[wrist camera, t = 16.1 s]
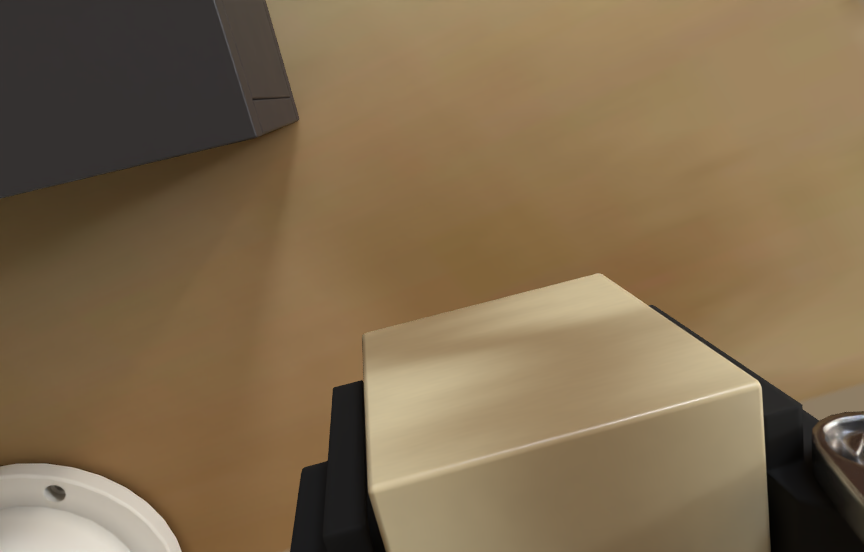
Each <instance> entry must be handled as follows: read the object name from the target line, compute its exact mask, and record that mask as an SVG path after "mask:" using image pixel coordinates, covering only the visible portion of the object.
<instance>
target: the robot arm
mask: <svg viewBox="0 0 864 552" xmlns="http://www.w3.org/2000/svg"><path fill="white" fill-rule="evenodd" d="M649 307H651V308H652V309H654V310H655V311H657V312H658V313H660V314H661V315H662V316H664V317H665V318H667V319H668V320H670V321H671V322H673V323H674V324H676V325H677V326H679V327H680V328H682V329H683V330H685V331H686V332H687V333H689V334H690V335H692V336H693V337H695V338H696V339H698V340H699V341H701V342H702V343H704V344H705V345H707V346H708V347H709V348H711V349H712V350H714V351H715V352H717V353H718V354H720V355H721V356H723V357H724V358H726V359H727V360H729V361H730V362H731V363H733V364H734V365H736V366H737V367H739V368H740V369H742V370H743V371H745V372H746V373H748V374H749V375H751V376H752V377H753V378H755V379H756V380H758V381H759V383H760V385H761V387H762V400H763V418H764V436H765V454H766V473H767V491H768V509H769V527H770V545H771V552H864V411H862V412H844V413H840V414H835V415H830V416H828V417H826V418H824V419H822V420H820V421H819V420H817V419H816V418H814V417H813V416H811V415H810V414H809V413H807V412H806V411H804V410H803V409H802V404H800V403H799V402H797V401H796V400H794V399H793V398H791V397H790V396H788V395H787V394H785V393H784V392H782V391H781V390H779V389H778V388H776V387H775V386H773V385H772V384H770V383H769V382H767V381H766V380H764V379H763V378H761V377H760V376H758V375H757V374H755V373H754V372H752V371H751V370H749V369H748V368H746V367H745V366H743V365H742V364H741V363H739V362H738V361H736V360H735V359H733V358H732V357H730V356H729V355H727V354H726V353H724V352H723V351H721V350H720V349H718V348H717V347H715V346H714V345H712V344H711V343H709V342H708V341H706V340H705V339H703V338H702V337H700V336H699V335H697V334H696V333H694V332H693V331H691V330H690V329H688V328H687V327H685V326H684V325H682V324H681V323H679V322H678V321H676V320H675V319H673V318H672V317H670V316H669V315H667V314H666V313H664V312H663V311H661V310H660V309H658V308H657V307H655V306H653V305H649ZM0 552H182V551H181V549H180V546H179V544H178V541H177V538H176V537H175V535H174V534H173V532H172V531H171V529H170V528H169V526H168V525H167V523H166V522H165V520H164V519H163V518H162V517H161V516H160V515H159V514H158V513H157V512H156V511H155V510H154V509H153V508H152V507H151V506H150V505H149V504H148V503H147V502H146V501H144V500H143V499H142V498H140V497H139V496H137V495H136V494H134V493H133V492H132V491H130V490H129V489H127V488H126V487H124V486H122V485H120V484H118V483H115V482H113V481H111V480H109V479H107V478H105V477H103V476H101V475H97V474H94V473H91V472H87V471H84V470H81V469H77V468H74V467H67V466H60V465H53V464H46V463H38V464H12V465H6V466H0ZM290 552H386V550H385V547H384V544H383V540H382V537H381V534H380V531H379V527H378V524H377V521H376V517H375V514H374V511H373V507H372V504H371V501H370V498H369V494H368V487H367V460H366V433H365V406H364V383H363V381H362V380H361V381H357V382H353V383H350V384H346V385H342V386H338V387H334V388H333V396H332V410H331V424H330V438H329V452H328V461H327V462H323V463H319V464H315V465H312V466H308V467H305V468H303V469H302V473H301V479H300V486H299V493H298V500H297V507H296V514H295V521H294V528H293V535H292V543H291V550H290Z"/></svg>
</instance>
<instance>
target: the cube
mask: <svg viewBox="0 0 864 552" xmlns="http://www.w3.org/2000/svg"><path fill="white" fill-rule="evenodd" d="M362 353H363V380H364V406H365V433H366V460H367V487H368V494H369V498H370V501H371V504H372V507H373V511H374V514H375V517H376V521H377V524H378V527H379V531H380V534H381V537H382V540H383V544H384V547H385V550H386V552H771V545H770V527H769V509H768V491H767V473H766V454H765V436H764V418H763V400H762V387H761V385H760V383H759V381H758V380H756V379H755V378H753V377H752V376H751V375H749V374H748V373H746V372H745V371H743V370H742V369H740V368H739V367H737V366H736V365H734V364H733V363H731V362H730V361H729V360H727V359H726V358H724V357H723V356H721V355H720V354H718V353H717V352H715V351H714V350H712V349H711V348H709V347H708V346H707V345H705V344H704V343H702V342H701V341H699V340H698V339H696V338H695V337H693V336H692V335H690V334H689V333H687V332H686V331H685V330H683V329H682V328H680V327H679V326H677V325H676V324H674V323H673V322H671V321H670V320H668V319H667V318H665V317H664V316H662V315H661V314H660V313H658V312H657V311H655V310H654V309H652V308H651V307H649V306H648V305H646V304H645V303H643V302H642V301H640V300H639V299H638V298H636V297H635V296H633V295H632V294H630V293H629V292H627V291H626V290H624V289H623V288H621V287H620V286H618V285H617V284H616V283H614V282H613V281H611V280H610V279H608V278H607V277H605V276H604V275H602V274H594V275H591V276H587V277H583V278H579V279H575V280H571V281H567V282H563V283H559V284H555V285H551V286H548V287H544V288H540V289H536V290H532V291H528V292H524V293H520V294H516V295H512V296H509V297H505V298H501V299H497V300H493V301H489V302H485V303H481V304H477V305H473V306H469V307H466V308H462V309H458V310H454V311H450V312H446V313H442V314H438V315H434V316H430V317H427V318H423V319H419V320H415V321H411V322H407V323H403V324H399V325H395V326H391V327H387V328H384V329H380V330H376V331H372V332H368V333H365V334H363V335H362Z"/></svg>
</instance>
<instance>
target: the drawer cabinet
mask: <svg viewBox="0 0 864 552" xmlns="http://www.w3.org/2000/svg"><path fill="white" fill-rule="evenodd" d="M298 120H299V116H298V112H297V109H296V105H295V102H294V98H293V95H292V91H291V88H290V84H289V81H288V77H287V74H286V70H285V67H284V63H283V60H282V57H281V53H280V50H279V46H278V43H277V39H276V36H275V32H274V29H273V25H272V22H271V18H270V15H269V11H268V8H267V4H266V1H265V0H0V198H5V197H9V196H13V195H17V194H21V193H26V192H30V191H34V190H38V189H43V188H47V187H51V186H55V185H59V184H64V183H68V182H72V181H76V180H81V179H85V178H89V177H93V176H97V175H102V174H106V173H110V172H114V171H118V170H123V169H127V168H131V167H135V166H140V165H144V164H148V163H152V162H156V161H161V160H165V159H169V158H173V157H178V156H182V155H186V154H190V153H194V152H199V151H203V150H207V149H211V148H216V147H220V146H224V145H228V144H232V143H237V142H241V141H245V140H249V139H254V138H257V137H259V136H262V135H264V134H266V133H269V132H271V131H274V130H276V129H279V128H281V127H284V126H286V125H289V124H291V123H294V122H296V121H298Z"/></svg>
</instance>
